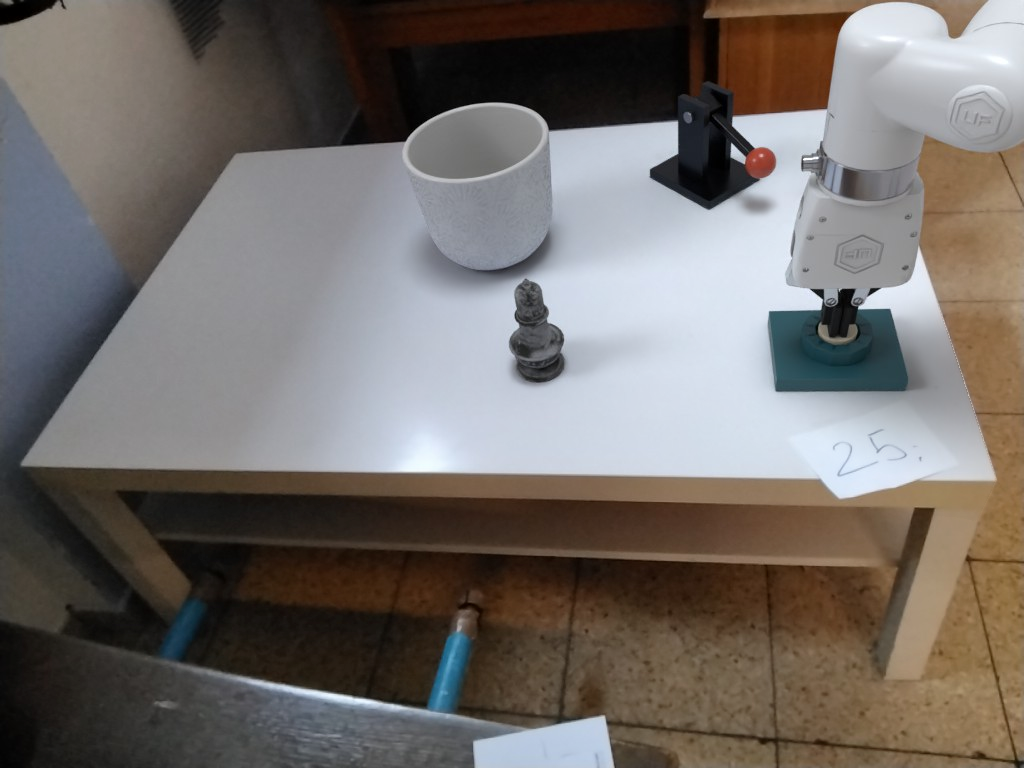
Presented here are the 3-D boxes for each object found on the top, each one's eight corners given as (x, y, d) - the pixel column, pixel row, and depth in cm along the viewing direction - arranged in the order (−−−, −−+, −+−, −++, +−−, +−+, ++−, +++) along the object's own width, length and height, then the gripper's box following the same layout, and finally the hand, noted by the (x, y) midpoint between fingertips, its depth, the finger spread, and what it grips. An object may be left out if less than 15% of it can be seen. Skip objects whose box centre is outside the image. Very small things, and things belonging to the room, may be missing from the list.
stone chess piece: (569, 344, 91) (557, 257, 82) (566, 383, 87) (553, 297, 78) (516, 346, 92) (499, 261, 83) (510, 385, 88) (492, 299, 79)
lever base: (760, 179, 106) (766, 94, 98) (708, 210, 103) (711, 124, 95) (699, 149, 113) (700, 66, 105) (649, 177, 110) (647, 94, 102)
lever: (775, 176, 100) (787, 156, 97) (754, 189, 99) (765, 169, 95) (704, 105, 104) (713, 84, 101) (683, 116, 103) (691, 95, 99)
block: (887, 320, 86) (893, 294, 84) (905, 391, 79) (913, 365, 77) (767, 322, 88) (770, 297, 86) (775, 391, 82) (778, 366, 79)
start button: (852, 328, 83) (854, 315, 82) (857, 353, 81) (860, 340, 80) (814, 328, 84) (816, 316, 83) (818, 353, 82) (820, 341, 80)
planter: (427, 221, 111) (400, 117, 100) (551, 197, 110) (537, 90, 100) (433, 301, 99) (403, 194, 88) (572, 275, 99) (559, 163, 88)
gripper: (776, 195, 67) (759, 355, 80) (977, 187, 64) (925, 354, 77) (769, 146, 72) (754, 303, 85) (955, 136, 69) (909, 301, 82)
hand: (835, 327), depth 81 cm, fingers closed
